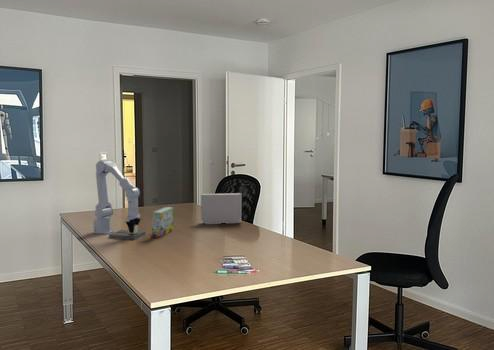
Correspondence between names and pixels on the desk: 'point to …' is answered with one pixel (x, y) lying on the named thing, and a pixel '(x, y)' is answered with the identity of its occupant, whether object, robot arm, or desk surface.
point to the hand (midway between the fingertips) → (133, 231)
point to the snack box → (162, 222)
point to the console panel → (126, 235)
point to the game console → (221, 208)
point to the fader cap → (134, 229)
